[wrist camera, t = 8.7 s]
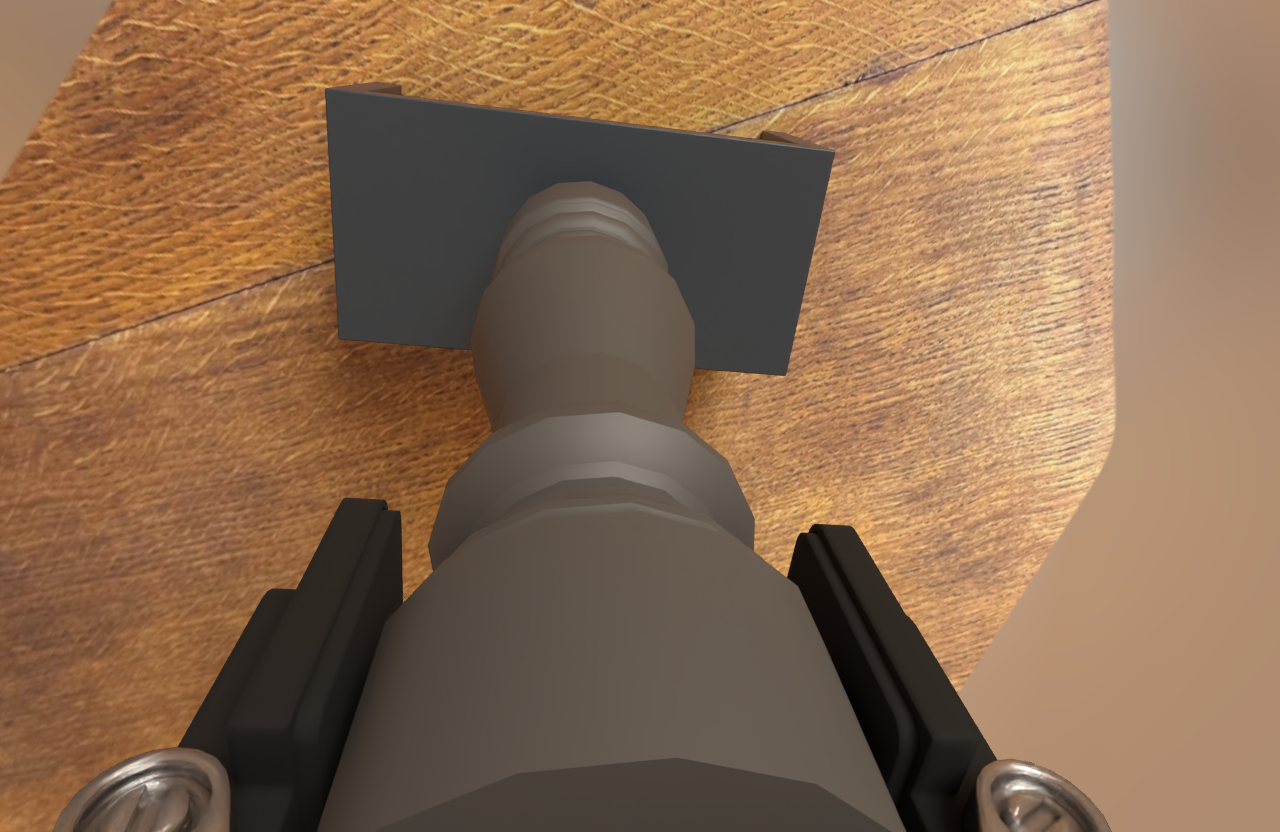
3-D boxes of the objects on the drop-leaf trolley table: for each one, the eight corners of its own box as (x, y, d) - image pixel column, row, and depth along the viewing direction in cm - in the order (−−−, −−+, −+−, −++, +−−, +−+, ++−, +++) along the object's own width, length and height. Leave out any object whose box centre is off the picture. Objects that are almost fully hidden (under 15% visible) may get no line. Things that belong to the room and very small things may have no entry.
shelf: (381, 288, 39) (338, 339, 32) (375, 81, 35) (324, 88, 28) (749, 321, 42) (786, 376, 34) (785, 133, 37) (835, 150, 30)
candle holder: (506, 168, 27) (198, 707, 5) (672, 193, 28) (1088, 748, 6) (493, 329, 30) (256, 1173, 7) (646, 347, 31) (856, 1150, 8)
